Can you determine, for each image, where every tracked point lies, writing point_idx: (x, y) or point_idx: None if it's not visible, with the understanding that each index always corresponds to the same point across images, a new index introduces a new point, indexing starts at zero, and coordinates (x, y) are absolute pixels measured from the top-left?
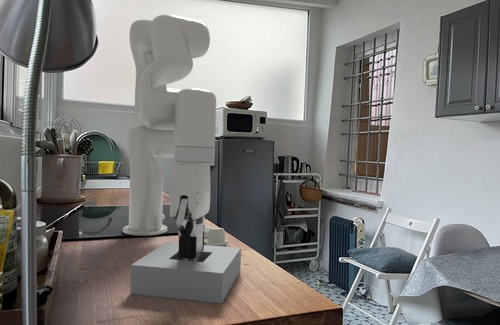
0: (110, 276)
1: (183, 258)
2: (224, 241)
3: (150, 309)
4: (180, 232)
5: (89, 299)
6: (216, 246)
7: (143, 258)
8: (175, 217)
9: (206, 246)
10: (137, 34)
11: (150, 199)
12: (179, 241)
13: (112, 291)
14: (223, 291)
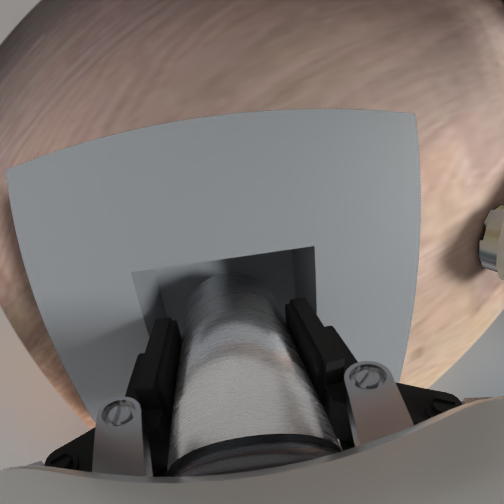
0: (174, 7)
1: (185, 323)
2: None
3: (23, 277)
4: (81, 438)
5: (10, 98)
6: (399, 354)
7: (85, 153)
8: (109, 475)
9: (394, 324)
10: None
11: None
12: (142, 368)
13: (61, 103)
14: None
